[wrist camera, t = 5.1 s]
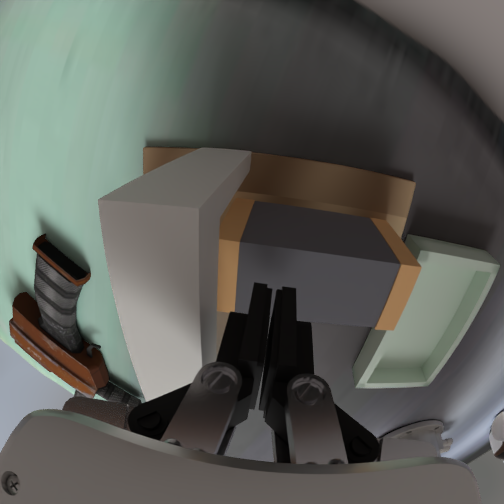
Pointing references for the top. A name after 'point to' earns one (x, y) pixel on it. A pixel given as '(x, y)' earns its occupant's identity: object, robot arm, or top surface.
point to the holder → (312, 185)
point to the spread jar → (497, 436)
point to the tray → (428, 316)
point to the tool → (61, 327)
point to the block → (315, 263)
